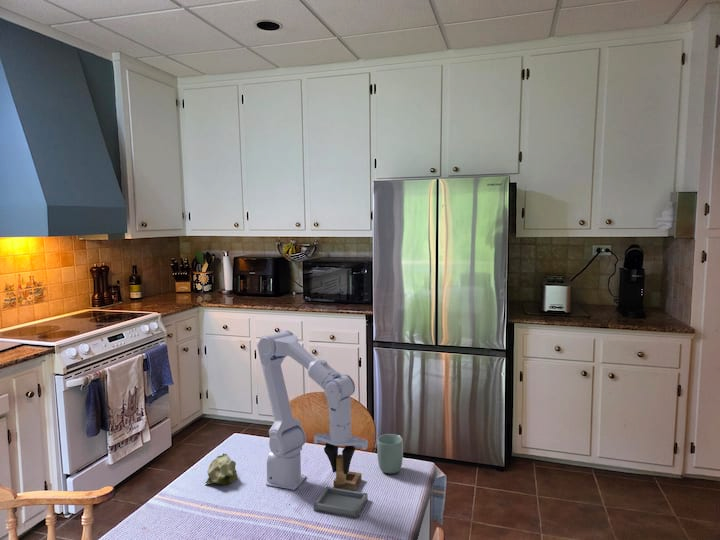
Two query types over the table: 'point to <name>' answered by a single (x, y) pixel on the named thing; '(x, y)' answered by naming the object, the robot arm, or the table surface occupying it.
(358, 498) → the tray
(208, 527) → the table surface
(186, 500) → the table surface
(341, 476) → the pin
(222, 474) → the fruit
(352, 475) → the socket
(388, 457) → the cup
